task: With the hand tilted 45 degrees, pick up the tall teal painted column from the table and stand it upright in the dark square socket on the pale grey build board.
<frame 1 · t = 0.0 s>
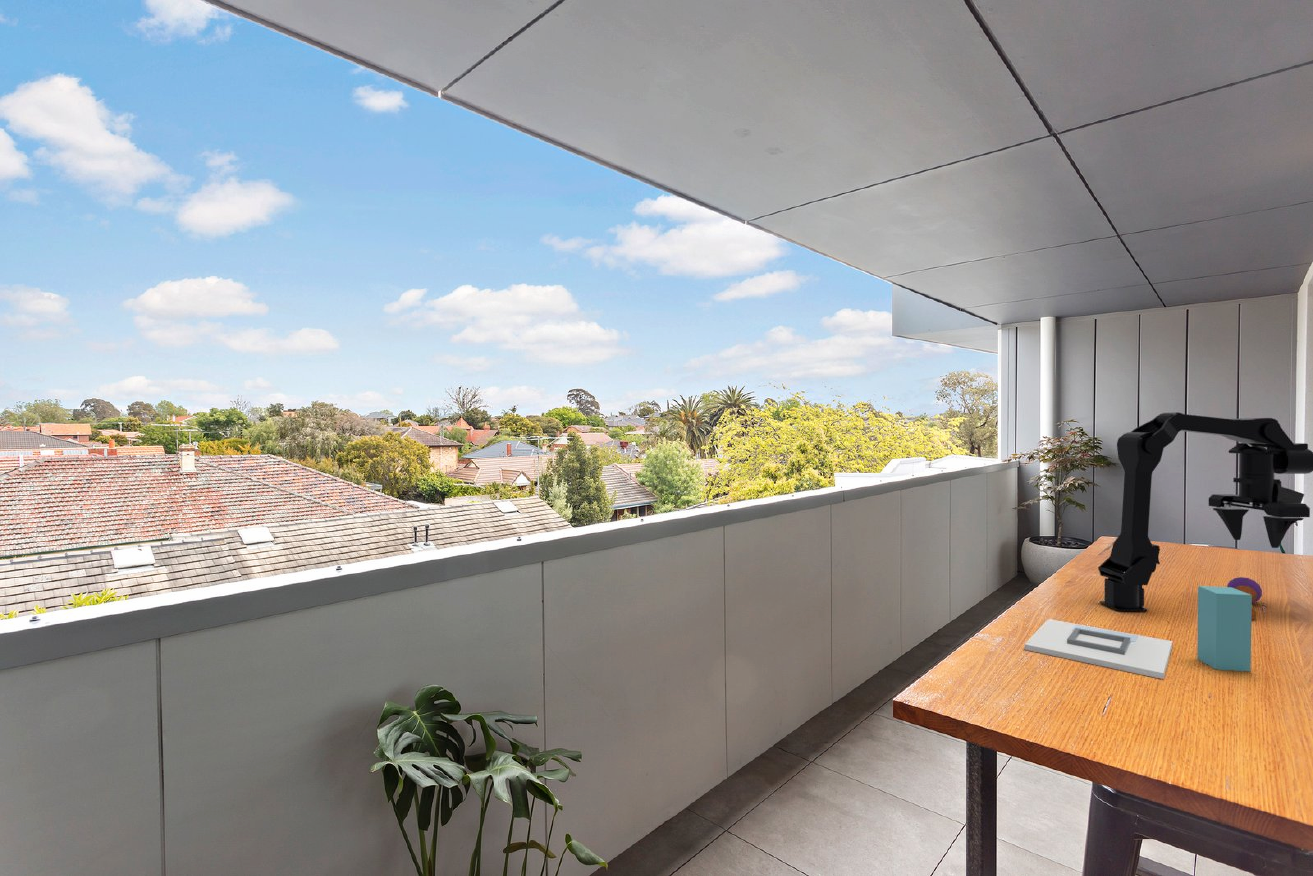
hand: (1255, 543, 138), 15 cm above the table, tool pointing down, fingers open, 9 cm apart
column: (1223, 665, 107), on the table
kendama: (1244, 610, 139), on the table
build board: (1098, 648, 115), on the table
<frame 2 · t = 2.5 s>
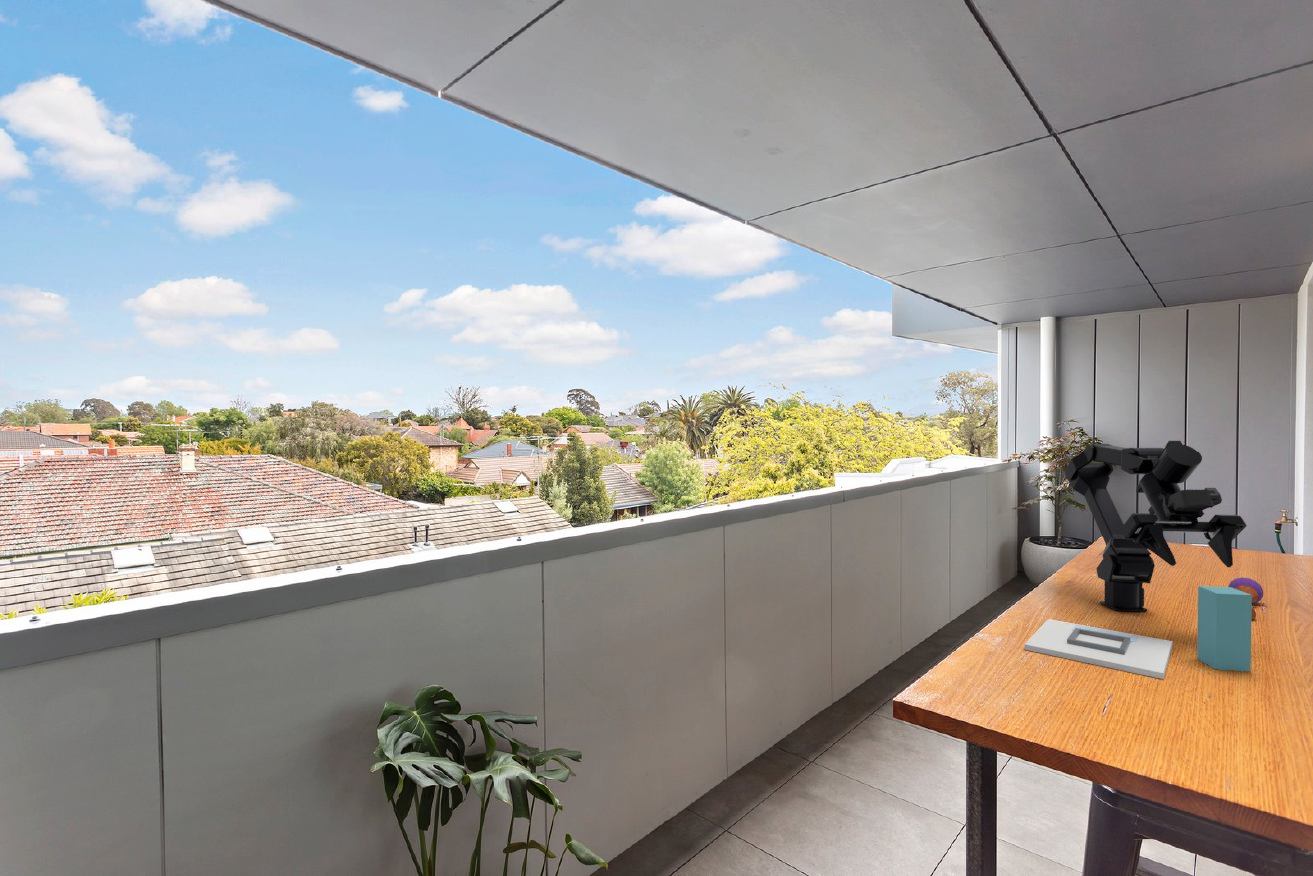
hand: (1202, 565, 115), 15 cm above the table, tool tilted 45°, fingers open, 9 cm apart
nothing on the table moved.
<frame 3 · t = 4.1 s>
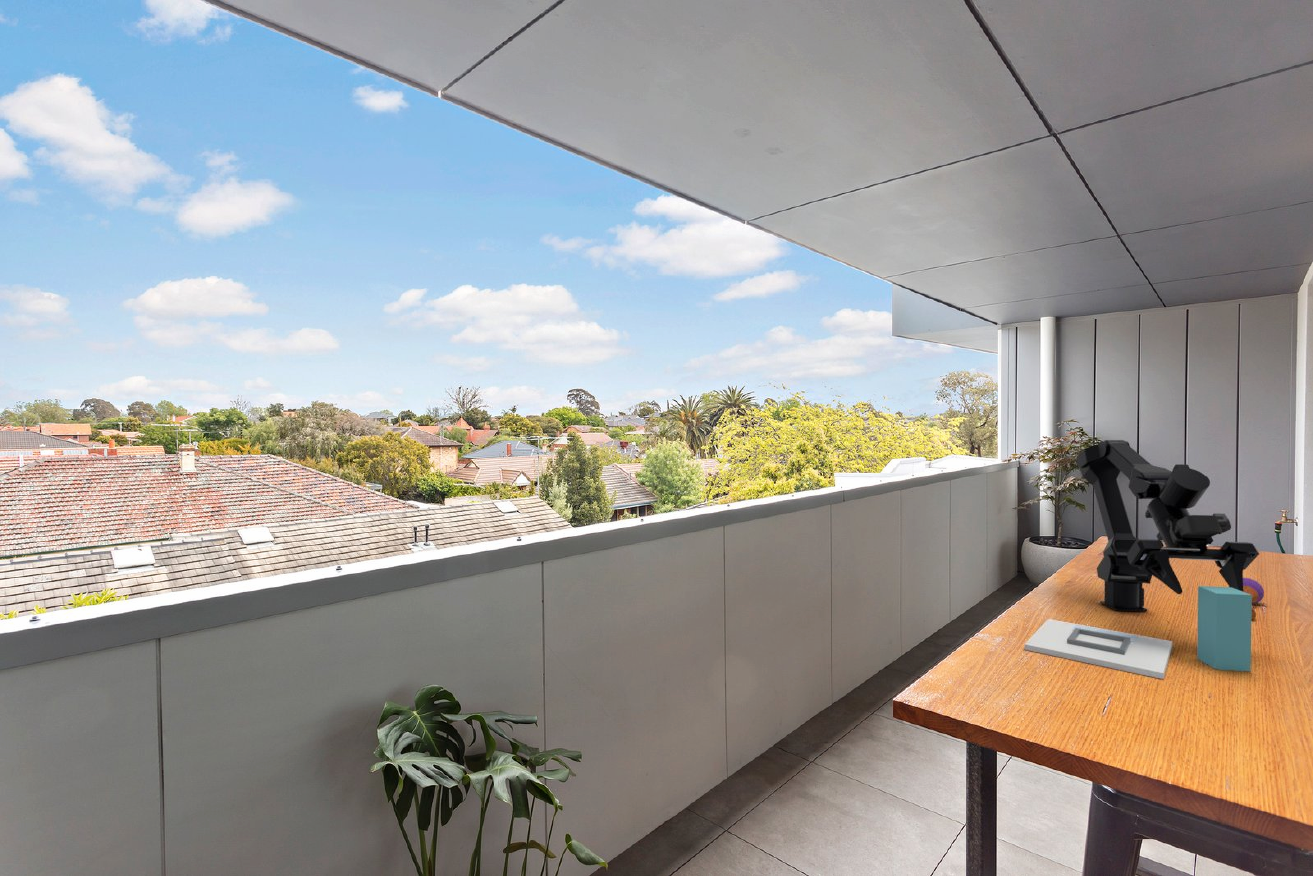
hand: (1210, 594, 110), 11 cm above the table, tool tilted 45°, fingers open, 9 cm apart
nothing on the table moved.
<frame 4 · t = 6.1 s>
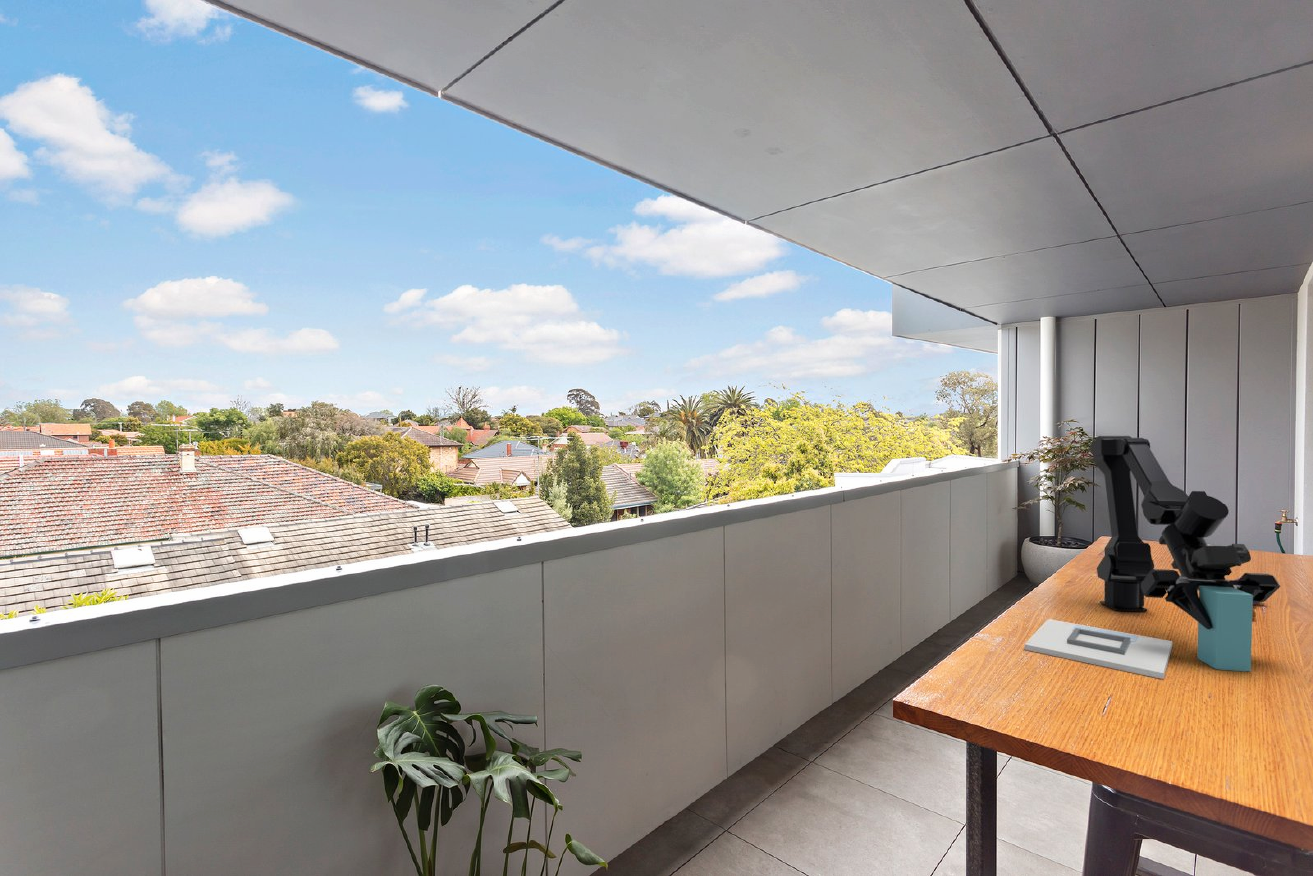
hand: (1229, 629, 105), 7 cm above the table, tool tilted 45°, fingers closed on column, 5 cm apart
column: (1223, 664, 107), on the table, touching gripper
everything else where it was.
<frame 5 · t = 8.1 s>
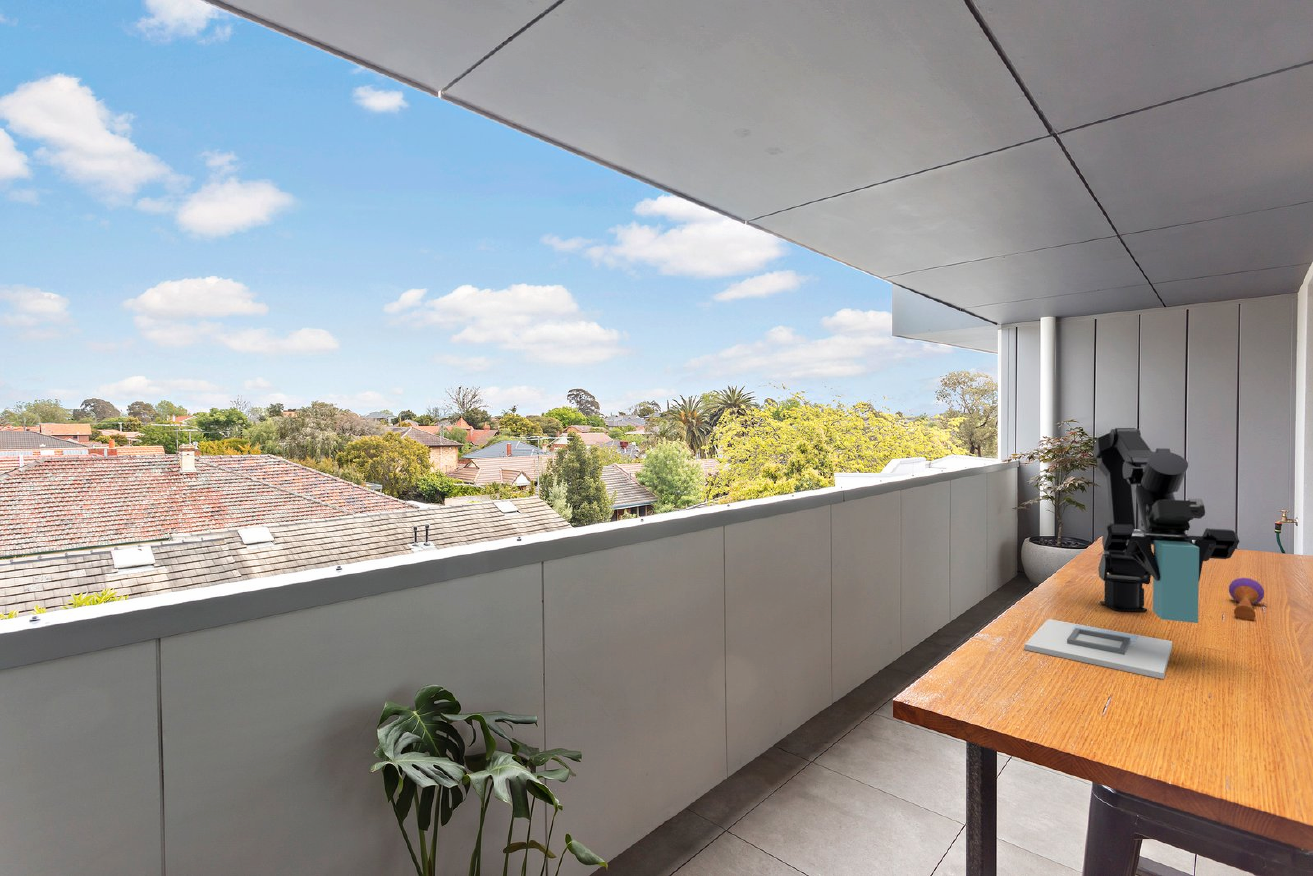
hand: (1177, 581, 108), 14 cm above the table, tool tilted 45°, fingers closed on column, 5 cm apart
column: (1174, 617, 109), point 8 cm above the table, touching gripper
everything else where it was.
when the fingers open (9 cm above the table, at t = 10.6 s): column stays where it is, resting on build board.
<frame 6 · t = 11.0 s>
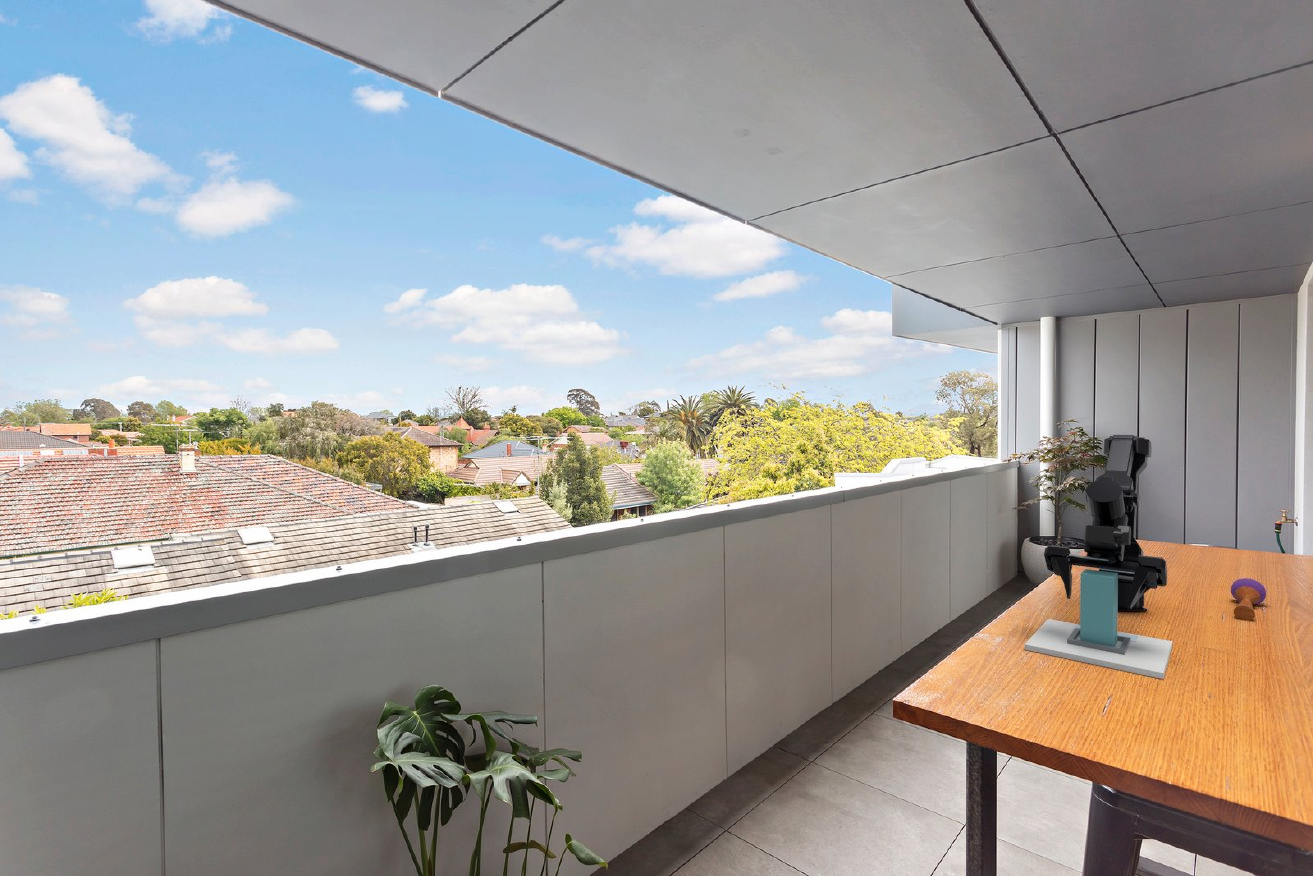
hand: (1097, 602, 114), 9 cm above the table, tool tilted 45°, fingers open, 9 cm apart
column: (1098, 642, 115), point 1 cm above the table, touching build board
everything else where it was.
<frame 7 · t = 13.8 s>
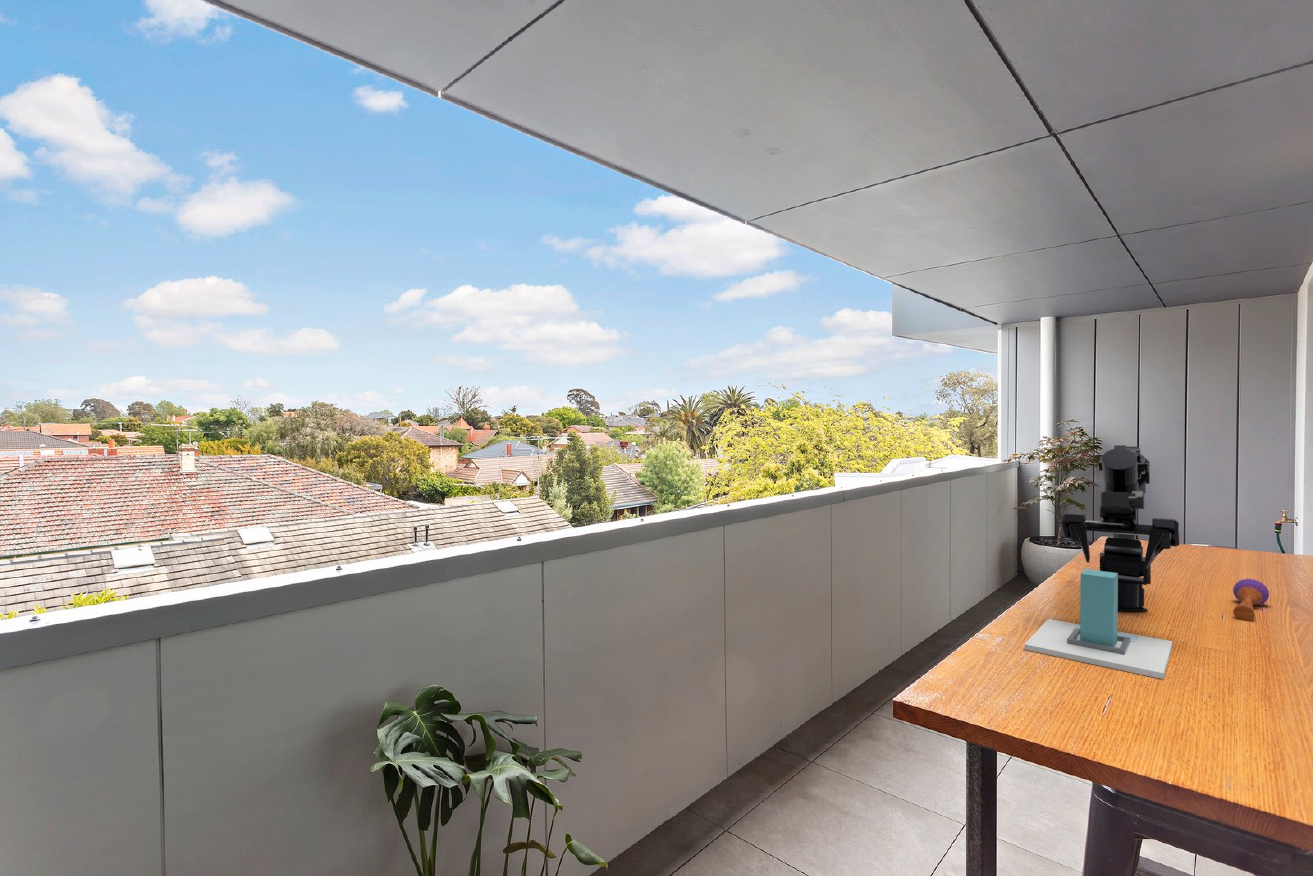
hand: (1116, 564, 121), 14 cm above the table, tool tilted 45°, fingers open, 9 cm apart
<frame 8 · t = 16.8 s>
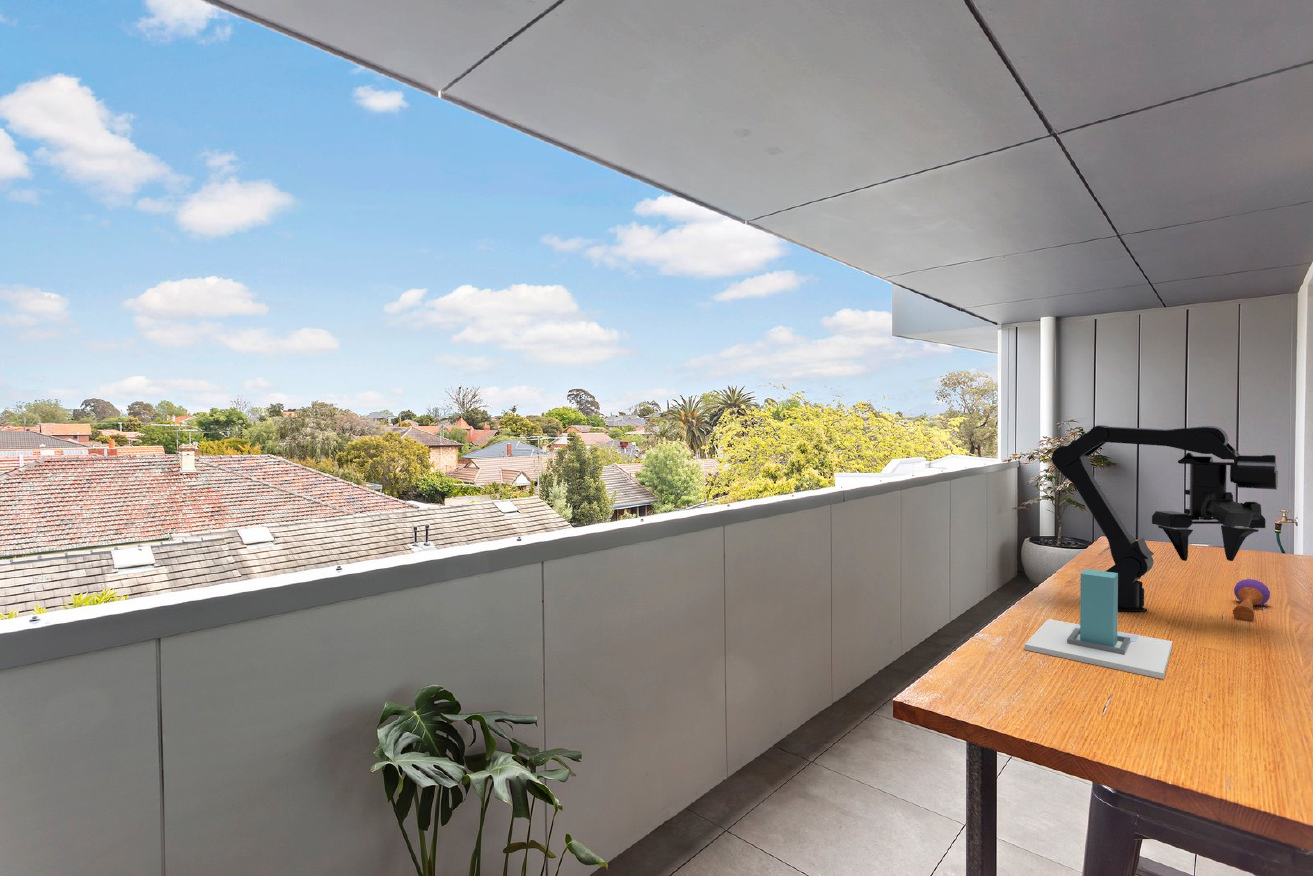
hand: (1206, 560, 129), 13 cm above the table, tool pointing down, fingers open, 9 cm apart
at the end: column 0.0 cm off-centre on the build board, point 1.0 cm above the build board's base; column tilted 0°; the gripper is holding nothing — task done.
